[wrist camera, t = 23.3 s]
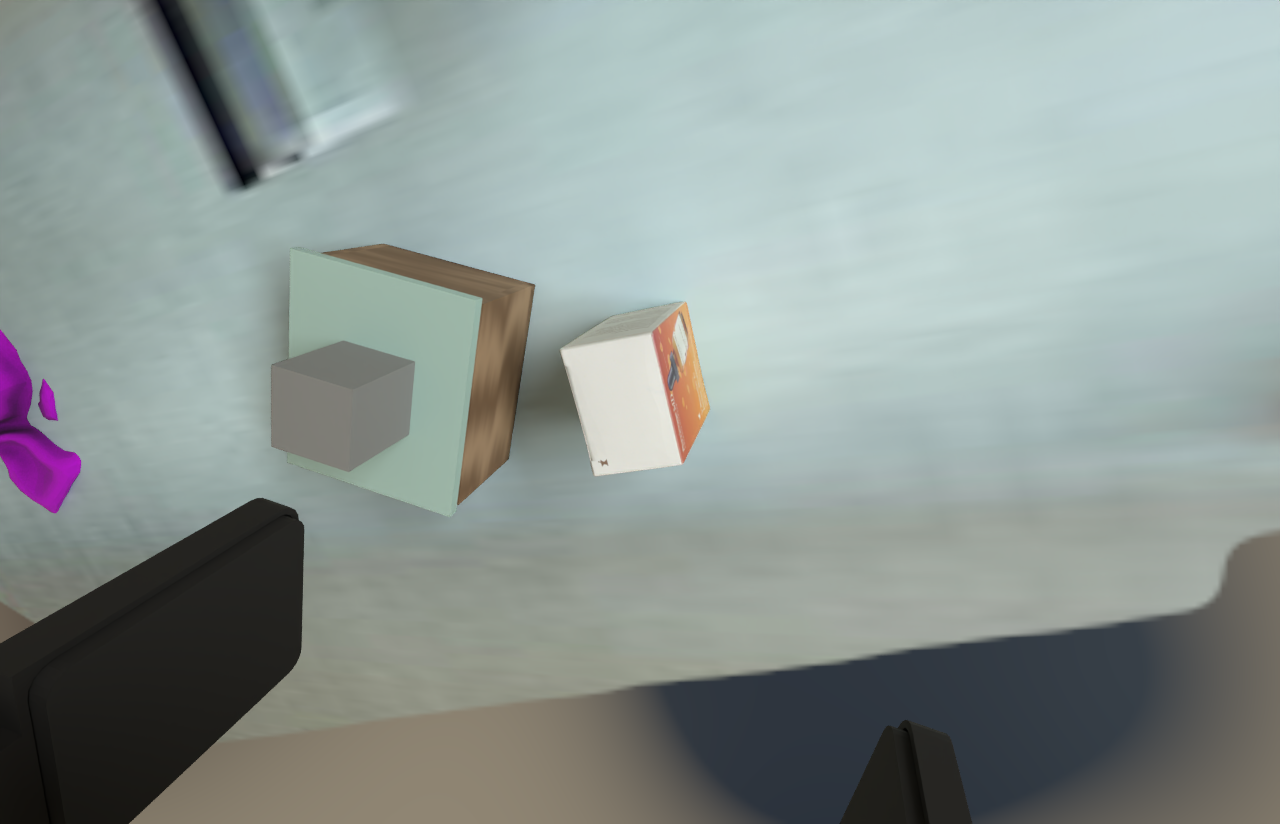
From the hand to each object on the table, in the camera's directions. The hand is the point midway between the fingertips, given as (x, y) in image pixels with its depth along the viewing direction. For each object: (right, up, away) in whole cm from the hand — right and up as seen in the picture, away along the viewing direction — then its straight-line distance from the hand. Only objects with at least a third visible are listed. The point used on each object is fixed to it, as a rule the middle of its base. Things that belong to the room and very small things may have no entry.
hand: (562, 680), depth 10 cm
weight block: (-16, +6, +32) cm, 36 cm away
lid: (-15, +6, +33) cm, 37 cm away
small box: (+3, +8, +36) cm, 37 cm away
